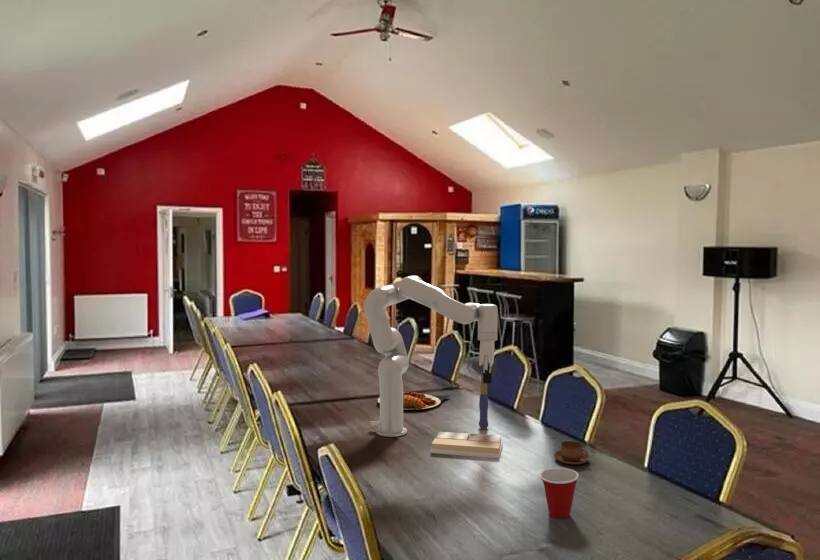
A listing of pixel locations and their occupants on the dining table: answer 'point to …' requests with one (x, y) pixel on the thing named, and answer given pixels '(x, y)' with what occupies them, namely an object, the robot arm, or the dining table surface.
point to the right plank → (485, 438)
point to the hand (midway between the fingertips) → (487, 382)
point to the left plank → (453, 436)
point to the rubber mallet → (483, 392)
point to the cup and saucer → (571, 453)
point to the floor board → (466, 448)
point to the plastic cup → (559, 490)
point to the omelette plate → (420, 400)
